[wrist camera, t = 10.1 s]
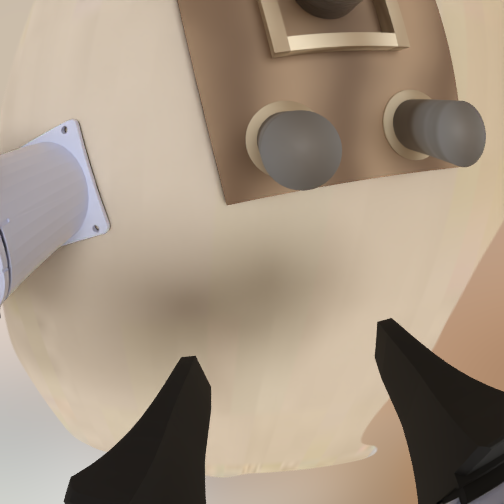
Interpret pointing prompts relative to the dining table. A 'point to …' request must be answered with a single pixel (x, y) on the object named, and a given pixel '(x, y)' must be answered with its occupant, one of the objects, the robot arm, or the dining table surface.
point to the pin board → (326, 94)
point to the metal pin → (328, 7)
